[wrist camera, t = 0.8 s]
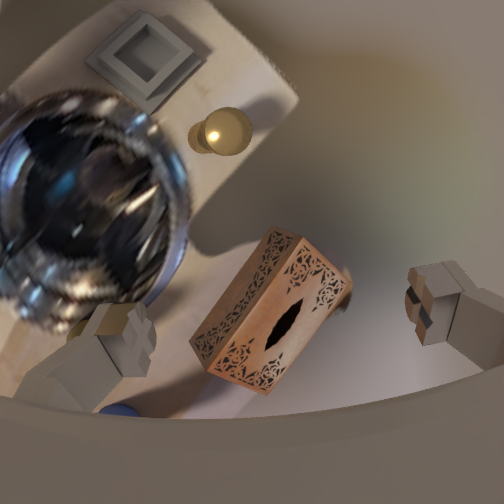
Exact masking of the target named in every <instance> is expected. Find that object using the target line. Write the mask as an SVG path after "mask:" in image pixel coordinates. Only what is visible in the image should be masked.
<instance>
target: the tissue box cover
mask: <svg viewBox="0 0 504 504" xmlns="http://www.w3.org/2000/svg"><path fill="white" fill-rule="evenodd" d="M349 283H350V281H349V280H348V279H347V278H346V277H345V276H344V275H343V274H342V273H341V272H340V271H339V270H338V269H337V268H336V267H335V266H334V265H332V264H331V263H330V262H329V261H328V260H327V259H326V258H325V257H324V256H323V255H322V254H321V253H320V252H319V251H318V250H317V249H316V248H314V247H313V246H312V245H311V244H310V243H309V242H308V241H307V240H306V239H305V238H304V237H302V236H299V235H297V234H294V233H291V232H288V231H286V230H283V229H280V228H278V227H275V226H271V227H270V228H269V230H268V231H267V233H266V234H265V235H264V237H263V238H262V239H261V242H260V243H259V245H258V246H257V248H256V249H255V250H254V252H253V253H252V255H251V256H250V257H249V259H248V260H247V261H246V263H245V264H244V266H243V267H242V268H241V270H240V271H239V273H238V274H237V275H236V277H235V278H234V280H233V281H232V282H231V284H230V285H229V286H228V288H227V289H226V291H225V292H224V293H223V295H222V296H221V298H220V299H219V300H218V302H217V303H216V304H215V306H214V307H213V309H212V310H211V311H210V313H209V314H208V316H207V317H206V318H205V320H204V321H203V322H202V324H201V325H200V327H199V328H198V329H197V331H196V332H195V334H194V335H193V336H192V338H191V339H190V340H189V343H190V344H191V346H192V348H193V350H194V352H195V353H196V355H197V357H198V358H199V360H200V362H201V364H202V365H203V367H204V369H205V370H206V371H207V372H210V373H212V374H214V375H216V376H219V377H221V378H223V379H226V380H228V381H231V382H233V383H235V384H238V385H240V386H243V387H245V388H248V389H250V390H253V391H256V392H258V393H261V394H264V395H266V396H267V395H268V394H269V393H270V391H271V390H272V389H273V388H274V386H275V385H276V384H277V383H278V381H279V380H280V378H281V377H282V376H283V375H284V374H285V372H286V371H287V370H288V368H289V367H290V366H291V364H292V363H293V362H294V361H295V359H296V358H297V357H298V355H299V354H300V353H301V351H302V350H303V349H304V347H305V346H306V345H307V343H308V342H309V341H310V339H311V338H312V336H313V335H314V334H315V332H316V331H317V330H318V328H319V327H320V325H321V324H322V323H323V321H324V320H325V318H326V317H327V315H328V314H329V313H330V311H331V310H332V308H333V307H334V305H335V304H336V303H337V301H338V300H339V298H340V297H341V295H342V294H343V292H344V291H345V289H346V288H347V286H348V285H349Z"/></svg>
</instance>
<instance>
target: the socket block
mask: <svg viewBox="0 0 504 504" xmlns="http://www.w3.org/2000/svg"><path fill="white" fill-rule="evenodd" d="M193 52H194V50H193V49H191V48H190V47H189V46H188V45H187V44H186V43H185V42H183V41H182V40H181V39H180V38H179V37H177V36H176V35H175V34H174V33H173V32H172V31H170V30H169V29H168V28H167V27H165V26H164V25H163V24H162V23H161V22H159V21H158V20H157V19H156V18H154V17H153V16H152V15H151V14H149V13H148V12H147V13H144V12H143V11H142V10H141V9H140V10H139V11H138V12H137V13H136V14H134V15H133V16H132V17H131V18H130V19H128V20H127V21H126V22H125V23H124V24H123V25H121V26H120V27H119V28H118V29H117V30H116V31H115V32H114V33H112V34H111V35H110V36H109V37H108V38H107V39H106V40H105V41H104V42H103V43H102V44H101V45H100V46H99V47H98V48H97V49H96V50H94V51H93V52H92V53H91V54H90V55H89V56H88V57H87V59H86V60H85V63H86V64H87V65H88V66H90V67H91V68H92V69H93V70H95V71H96V72H97V73H98V74H100V75H101V76H102V77H103V78H104V79H106V80H107V81H108V82H109V83H111V84H112V85H113V86H114V87H116V88H117V89H118V90H119V91H120V92H122V93H123V94H124V95H125V96H126V97H128V98H129V99H130V100H131V101H133V102H134V103H135V104H136V105H137V106H139V107H140V108H141V109H142V110H143V111H145V112H146V113H147V114H148V115H150V114H151V113H152V112H153V111H154V110H155V109H156V107H157V106H158V105H159V104H160V103H161V102H162V101H163V100H164V99H165V98H166V97H167V96H168V95H169V94H170V92H171V91H172V90H173V89H174V88H175V87H176V86H177V85H178V84H179V83H180V82H181V81H182V80H183V79H184V78H185V77H186V76H187V75H188V74H189V73H190V72H191V71H192V70H193V69H194V68H195V67H196V66H198V65H199V64H200V63H201V62H202V60H201V59H199V58H198V57H197V56H196V55H195V54H194V53H193Z"/></svg>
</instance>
